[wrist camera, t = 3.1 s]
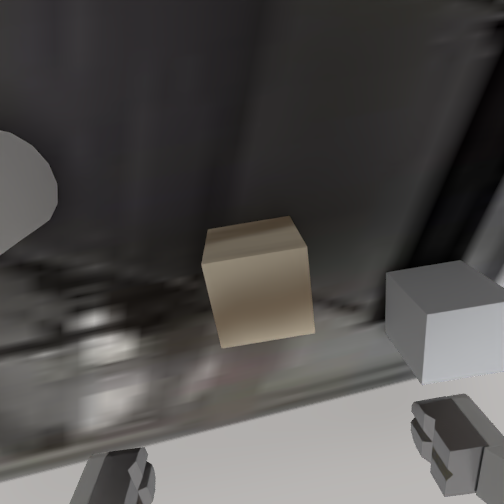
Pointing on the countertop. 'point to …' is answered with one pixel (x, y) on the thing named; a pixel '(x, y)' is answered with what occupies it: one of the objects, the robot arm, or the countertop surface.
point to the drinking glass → (23, 190)
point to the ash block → (258, 281)
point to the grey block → (446, 321)
